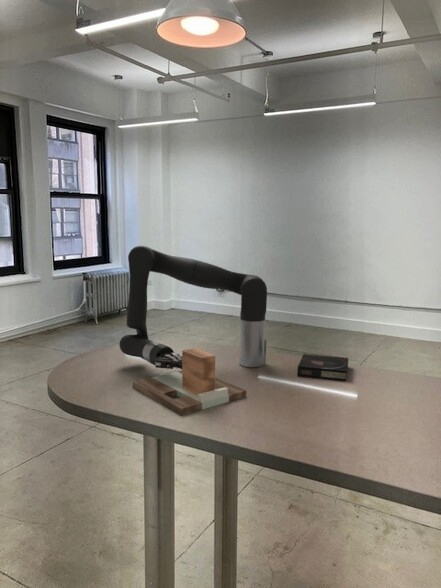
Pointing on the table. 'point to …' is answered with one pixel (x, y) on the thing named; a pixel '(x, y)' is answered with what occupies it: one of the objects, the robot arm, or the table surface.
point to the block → (198, 371)
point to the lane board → (186, 393)
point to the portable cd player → (323, 367)
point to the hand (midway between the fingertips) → (187, 367)
